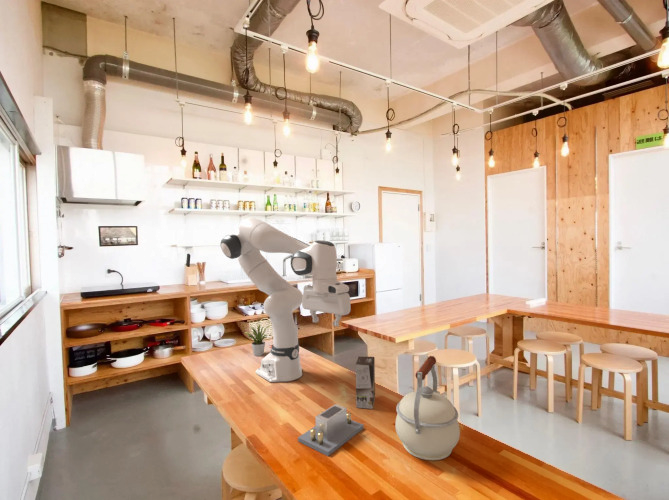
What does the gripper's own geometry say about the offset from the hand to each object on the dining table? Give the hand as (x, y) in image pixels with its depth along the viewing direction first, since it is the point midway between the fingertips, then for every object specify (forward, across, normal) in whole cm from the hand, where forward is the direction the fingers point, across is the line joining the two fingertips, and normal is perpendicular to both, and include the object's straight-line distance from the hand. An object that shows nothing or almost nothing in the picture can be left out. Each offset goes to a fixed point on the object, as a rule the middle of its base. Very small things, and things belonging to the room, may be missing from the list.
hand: (325, 324), depth 126 cm
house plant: (+31, -67, +24) cm, 78 cm away
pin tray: (+31, +12, -12) cm, 35 cm away
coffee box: (+31, +9, +12) cm, 35 cm away
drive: (+30, +12, -12) cm, 34 cm away
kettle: (+31, +38, +2) cm, 49 cm away
